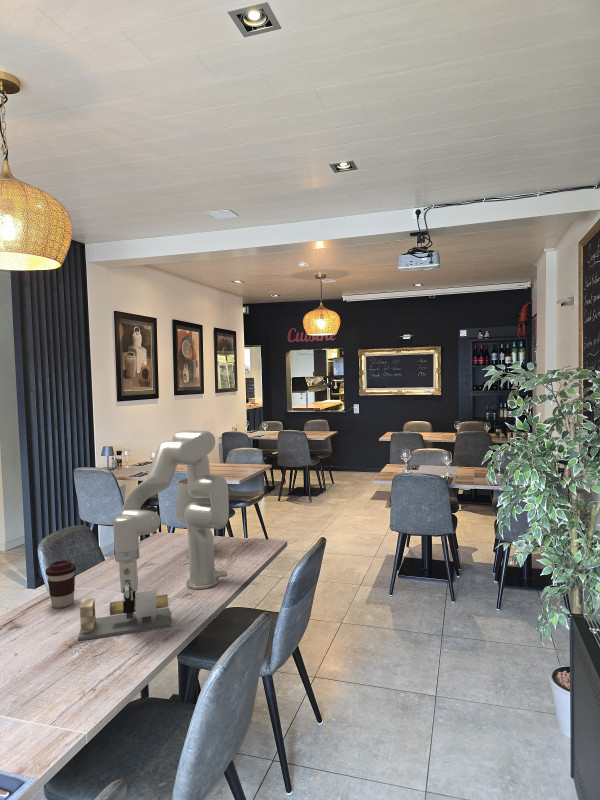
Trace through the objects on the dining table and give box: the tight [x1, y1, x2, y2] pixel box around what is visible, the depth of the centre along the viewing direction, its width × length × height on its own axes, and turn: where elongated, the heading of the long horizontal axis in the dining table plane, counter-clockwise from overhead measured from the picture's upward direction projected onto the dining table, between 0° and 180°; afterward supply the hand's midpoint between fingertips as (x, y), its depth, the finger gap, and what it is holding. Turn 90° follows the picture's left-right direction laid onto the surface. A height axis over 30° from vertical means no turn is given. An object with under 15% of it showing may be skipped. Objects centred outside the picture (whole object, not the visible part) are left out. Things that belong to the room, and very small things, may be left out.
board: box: [77, 607, 171, 642], centre depth 174 cm, size 28×13×1 cm, turn 105°
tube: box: [109, 593, 169, 619], centre depth 174 cm, size 18×5×6 cm, turn 105°
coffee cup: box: [45, 559, 77, 609], centre depth 193 cm, size 10×10×15 cm
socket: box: [79, 597, 97, 633], centre depth 170 cm, size 4×7×8 cm, turn 15°
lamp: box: [174, 478, 211, 522], centre depth 242 cm, size 19×19×34 cm
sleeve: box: [135, 589, 157, 624], centre depth 175 cm, size 6×6×8 cm
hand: (129, 606), depth 174 cm, fingers open, 9 cm apart
